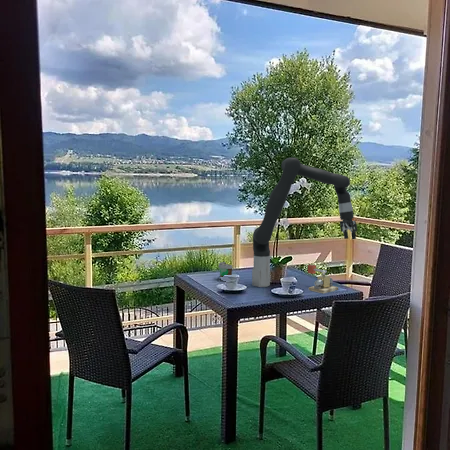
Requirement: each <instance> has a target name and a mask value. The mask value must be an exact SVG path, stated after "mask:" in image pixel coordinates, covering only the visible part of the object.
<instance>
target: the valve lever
mask: <svg viewBox="0 0 450 450" xmlns="http://www.w3.org/2000/svg"><path fill="white" fill-rule="evenodd" d="M317 272H320V274H321V273H322V275H321V276H326V273H327V270H326V269H320V268H317V265H315V264H307V274H310V275H313V274H315V275H316V273H317ZM327 274H328V273H327Z"/></svg>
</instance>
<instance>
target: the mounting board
mask: <svg viewBox="0 0 450 450" xmlns="http://www.w3.org/2000/svg"><path fill="white" fill-rule="evenodd" d="M314 286H315V285H313V286H310V287H308V291H311V292H315V293H319V294H327V293H331V292H335V290H336V291H339V287H338V286H335V285H333V286H331V287H325V288H322V287H321V289H315V288H314Z"/></svg>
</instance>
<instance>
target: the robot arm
mask: <svg viewBox="0 0 450 450" xmlns="http://www.w3.org/2000/svg"><path fill="white" fill-rule="evenodd" d="M281 169H282V171H283V172H282V173H281V177H280V179H279V180H278V182H277V184H276V185H275V187H273V189H272V191H271V193H270V194H269V197H268V199H267V201H266V202H267V203H266V206H265V209H264V210H265V211H264V217H263V219H262V221H261V223H260V225H259V227H257V228H255V229H254V230H253V232H252V249H253V250H252V251H253V268H252V269H251V275H252V278H251V286H253V287H258V288H266V287H269V286H270V284H271V280H270V277H271V275H270V274H271V251H270V240H271V239H272V235H273V232H274V230H275V226H276V223H277V221H278V219H279V217H280V216H281V212H282V211H283V209H284V207H285V204H286V203H287V202H286V201H287V198H288V196H289V194H290V190H291V188H292V186H293V183H294V180H295V179H296V177H297V176H301V177H305V178H308V179H311V180H314V181H316V182H320V183H322V184H326V185H331V186H333V188H334V191H335V194H336V197H337V201H338V202H337V203H338V210H339V219H340V221H339V226H340V232H342V233H343V238H344V240H347V239H349V233H348V230H349V231H350V236H351V239H352V240H356V239H357V235H356V233H357V232H358V227H357V222H356V221H357V220H353V219H354V218H355V217H354V216H355V215H354V210H353V204H352V200H351V194H350V193H349V192H348V191H347V188H349V186H350V185H351V184H350V183H351V180H350V178H349V177H348V176H347V175H345V174H344V175H343V174H340V173H334V172H331V171H328V170H325V169H321V168H318V167H314V166H308V165H305V164H303V163H301V161H300V160H299V159H298V158H296V157H287V158H285V159H284V160H282V162H281Z"/></svg>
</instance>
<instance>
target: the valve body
mask: <svg viewBox="0 0 450 450" xmlns="http://www.w3.org/2000/svg"><path fill="white" fill-rule="evenodd" d="M333 282H334V281H333V278H332V277H331V276H330V275H329V276H328V275H325V276H322V275H318V276H317V279H316V280H315V281H314V282H313V283H314V285H313V286H314V288H315V289H321V287H322V288H325V287H331V286H334V285H333Z"/></svg>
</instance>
